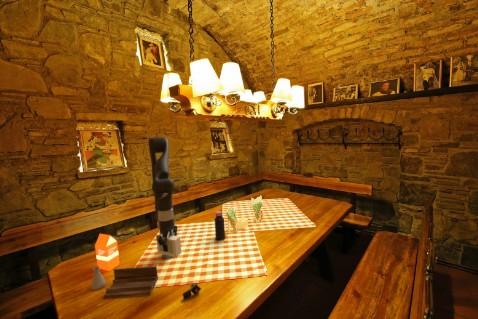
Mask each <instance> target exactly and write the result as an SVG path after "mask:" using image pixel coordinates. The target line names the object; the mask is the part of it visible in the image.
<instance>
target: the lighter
mask: <svg viewBox="0 0 478 319" xmlns="http://www.w3.org/2000/svg"><path fill="white" fill-rule="evenodd" d="M201 290H202V288H201V287H200V286H199V285H198V284H197V283H191V285H190V289H188V290H186V291H185V292H183V293H182V296H183V299H184V300H188V299H189V298H191V297H192V295H194V296H196V295H198V293H199V292H200V291H201Z"/></svg>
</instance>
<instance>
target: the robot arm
mask: <svg viewBox="0 0 478 319" xmlns="http://www.w3.org/2000/svg"><path fill="white" fill-rule="evenodd" d="M148 150H149V157H150V164H151V177H152V178H151V179H152V184H151V191H152V193H153V196H154V213H155V214H154V216H155V219H156V220H157V221H158V228H159V234H157V235H156V236H155V237H156V238H157V239H156V241H157V240H158V243H159V245H162V246H163V251H165V252H167V251H168V247H167V241H168V239H169V236H178V225H176V224H175V215H174V214H175V213H174V205H173V192H174V188H175V181H174V180H173V179H172V178H170V169H169V168H170V167H169V159H170V158H169V156H170V154H169V153H170V145H169V140H168V138H167V137H166V136H165V137H162V136H161V137H160V136H159V137H149V139H148ZM156 154H161V155H160V156H159V158H158V157H157V155H156ZM165 194H166V195H165ZM164 195H165V196H164ZM164 237H165V238H164ZM164 240H165V242H164ZM161 258H162V259H166V260H167V259H172V258H175V257H174V256H169V255H165V254H161Z"/></svg>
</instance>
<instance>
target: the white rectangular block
mask: <svg viewBox="0 0 478 319" xmlns="http://www.w3.org/2000/svg"><path fill="white" fill-rule="evenodd" d="M164 238H165V237H164ZM164 242H165V240H164ZM181 243H182V242H181V236H178V235H177V236H169V239H168V241H167V247H168V251H167V252H165V251H163V246H162V245H159V243H158V240H157V238H156V246H157V248H156V249H157V253H158V254H161V255H162V254H165V255H169V256H174V257H173V258H177V257H179V256H180V255H181V254H182V244H181Z"/></svg>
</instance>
